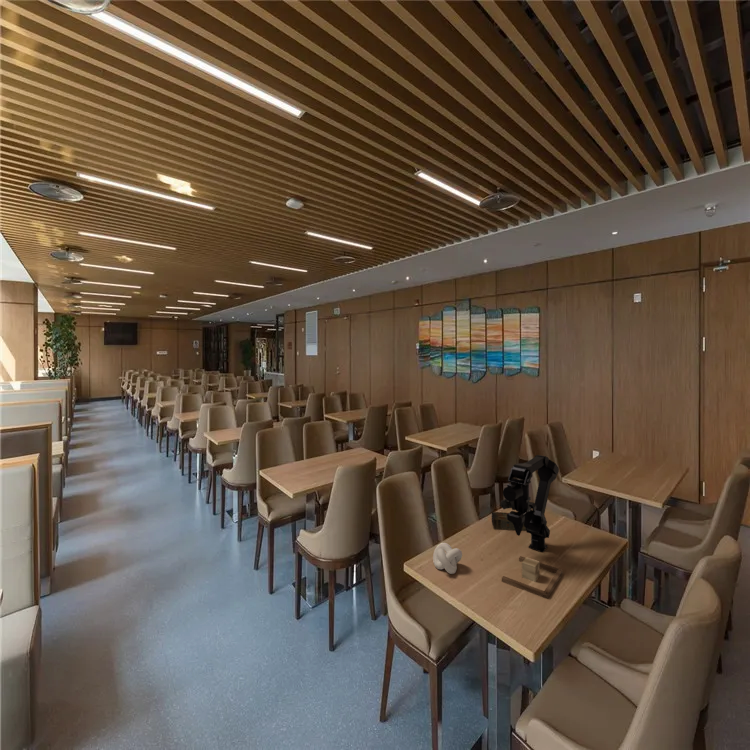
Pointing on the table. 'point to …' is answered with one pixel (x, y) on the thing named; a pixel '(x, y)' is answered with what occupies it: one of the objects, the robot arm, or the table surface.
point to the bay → (534, 590)
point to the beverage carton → (502, 522)
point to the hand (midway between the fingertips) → (522, 531)
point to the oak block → (530, 569)
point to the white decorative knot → (446, 557)
